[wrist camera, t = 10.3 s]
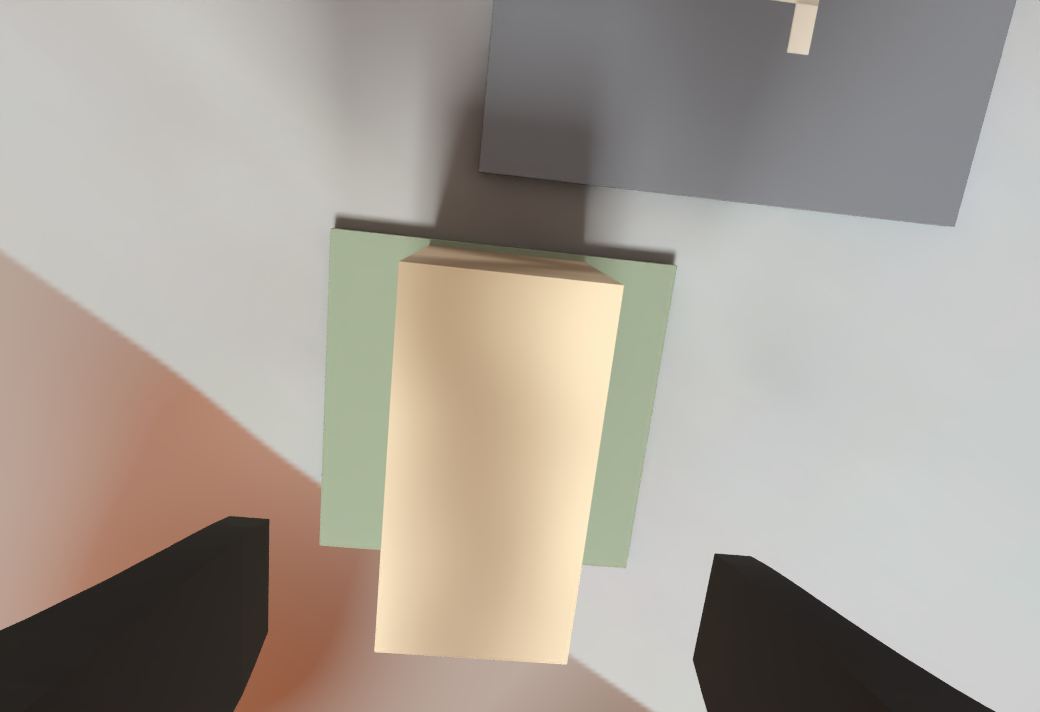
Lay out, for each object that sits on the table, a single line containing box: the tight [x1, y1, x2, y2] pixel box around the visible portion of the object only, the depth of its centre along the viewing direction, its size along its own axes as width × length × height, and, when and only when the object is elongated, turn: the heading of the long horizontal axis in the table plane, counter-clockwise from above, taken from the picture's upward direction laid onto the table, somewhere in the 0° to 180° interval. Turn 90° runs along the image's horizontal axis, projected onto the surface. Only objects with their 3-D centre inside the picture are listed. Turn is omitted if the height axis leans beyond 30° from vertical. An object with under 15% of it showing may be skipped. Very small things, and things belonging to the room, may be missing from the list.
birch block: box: [375, 245, 624, 664], centre depth 16 cm, size 4×9×6 cm, turn 174°
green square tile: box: [320, 228, 677, 568], centre depth 19 cm, size 10×10×1 cm
